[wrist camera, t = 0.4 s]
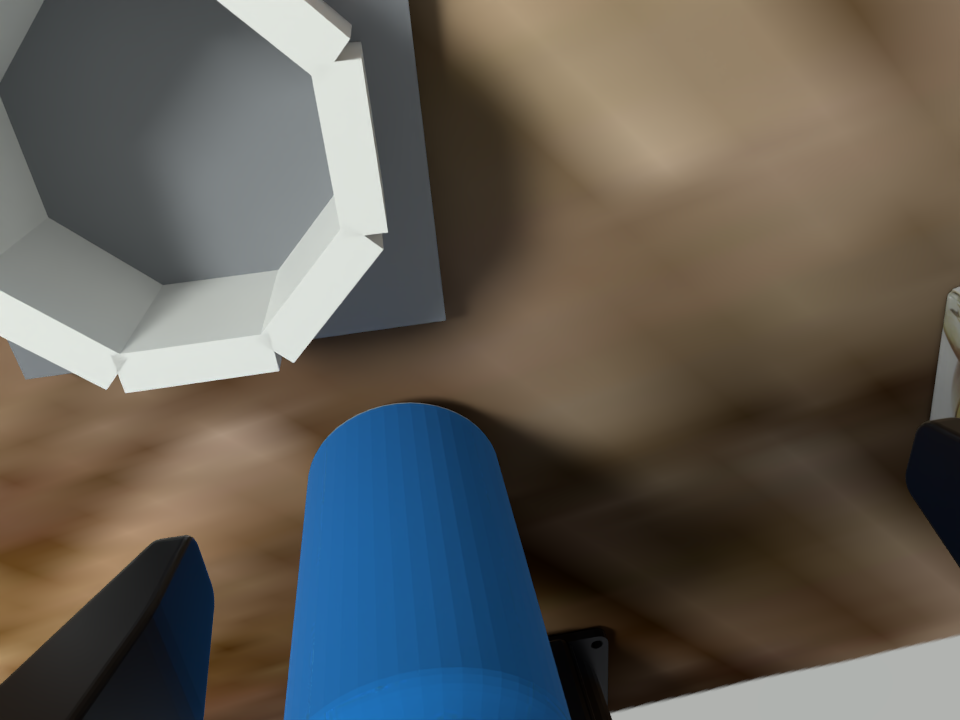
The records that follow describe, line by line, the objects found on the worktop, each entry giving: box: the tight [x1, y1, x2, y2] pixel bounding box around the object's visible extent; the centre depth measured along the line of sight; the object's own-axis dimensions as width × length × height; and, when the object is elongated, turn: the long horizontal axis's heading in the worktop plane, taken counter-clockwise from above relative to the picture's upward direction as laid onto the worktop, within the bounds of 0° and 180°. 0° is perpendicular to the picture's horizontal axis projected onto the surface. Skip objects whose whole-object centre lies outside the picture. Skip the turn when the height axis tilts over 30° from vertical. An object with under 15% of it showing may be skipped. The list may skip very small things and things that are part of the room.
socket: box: [0, 0, 446, 393], centre depth 16 cm, size 12×12×5 cm
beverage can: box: [284, 402, 571, 720], centre depth 19 cm, size 6×6×12 cm
